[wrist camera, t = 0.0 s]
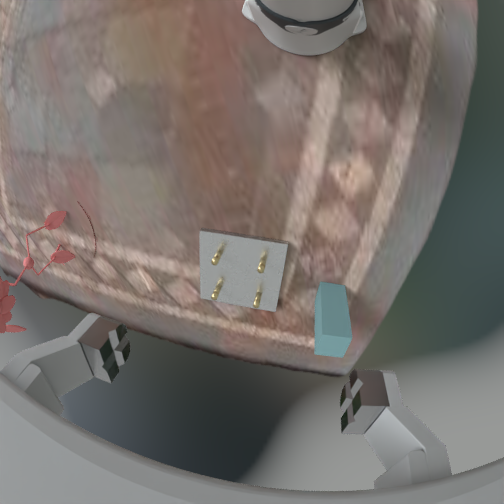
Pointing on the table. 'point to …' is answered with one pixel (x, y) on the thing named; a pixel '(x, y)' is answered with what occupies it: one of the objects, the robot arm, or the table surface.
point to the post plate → (241, 268)
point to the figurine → (4, 303)
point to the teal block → (332, 320)
